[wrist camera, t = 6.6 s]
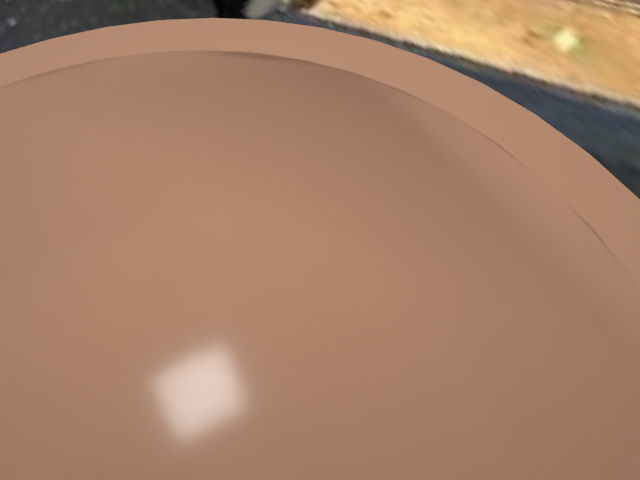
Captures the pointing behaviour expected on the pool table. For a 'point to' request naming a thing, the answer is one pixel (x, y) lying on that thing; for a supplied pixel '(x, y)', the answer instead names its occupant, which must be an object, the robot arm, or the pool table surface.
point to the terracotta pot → (302, 267)
